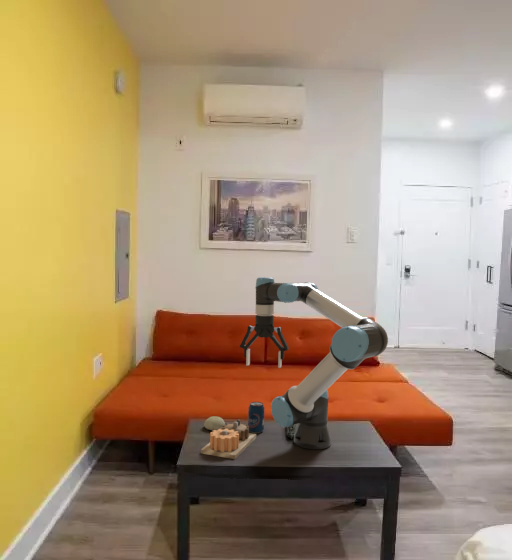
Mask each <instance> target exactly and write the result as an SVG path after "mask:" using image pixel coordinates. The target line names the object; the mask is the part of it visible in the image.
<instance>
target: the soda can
mask: <svg viewBox="0 0 512 560" xmlns="http://www.w3.org/2000/svg"><path fill="white" fill-rule="evenodd" d="M247 414H248V415H247V426H249V433H251V434H259V433H263V431H264V428H265V406H264V403H263V402H260V401H251V402H250V403H249V406H248V413H247Z"/></svg>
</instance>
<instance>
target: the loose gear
mask: <svg viewBox="0 0 512 560" xmlns="http://www.w3.org/2000/svg"><path fill="white" fill-rule="evenodd" d="M222 431H224V430H222V429H218V430H217V431H216V430H213V431H211V432H210V433H209V443H210V448H211V449H213V448H214V450H215V451H217V450H221V452H224V451H228V452H229V451H231V450H236V449H237V448H238V447H239V434H238V432H237V431H234V430H233V429H232V430H228V429H225V431H227V435H222Z"/></svg>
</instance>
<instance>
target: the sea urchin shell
mask: <svg viewBox="0 0 512 560" xmlns="http://www.w3.org/2000/svg"><path fill="white" fill-rule="evenodd" d="M223 425H226V422H225V420H224V418H222V417H220V416H215V415H213V416H209V417H208V418H207V419H206V420H205V421H204V423H203V427H204V428H205V429H206V430H209V431H211V432H213V430H216V431H217V430H218V429H222V427H223Z"/></svg>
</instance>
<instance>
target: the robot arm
mask: <svg viewBox="0 0 512 560" xmlns="http://www.w3.org/2000/svg"><path fill="white" fill-rule="evenodd" d="M275 302H277V303H278V302H279V303H285V304H286V303H288V304H289V303H294V302H302V303H303V304H305V305H307V306H308V307H310V308H312V310H315V311H316V312H317V313H319V314H320V315H322V316H324V317H325V318H327V319H328V320H329V321H331V322H333V323H334V324H336V325H337V326H339V327H340V329H338V330H336V332H335V333H334V334H333V336H332V337H331V344H330V345H329V352H328V353H327V355H325V356H324V358H323V359H321V361H320V362H319V363H318V364H317V365H316V366H314V368H313V369H312V370H311V371H310V372H309V374H307V376H305V378H303V380H302V381H301V382H300V383H299V384H298V385H292V386H291V387H289V388H288V390H287V391H285V393H283V394H282V395H279V396H276V397H274V398H273V399H272V401H271V404H270V409H271V411H270V412H271V414H272V415H271V416H272V417H273V420H274V422H275V423H276V424H277V425H279V426H280V427H283V428H287V427H292V426H294V425H297V426H296V430H295V432H294V435H293V443H294V444H295V445H296V446H298V447H300V448H303V449H307V450H322V449H323V450H324V449H328V448H329V447H330V446H331V445H332V437H331V433H330V430H329V427H328V418H329V417H328V412H329V391H328V389H330V387H331V386H333V384H334V383H335V382H336V381H337V380H338V379H339V378H341V377H342V376H343V374H344V373H346V371H348V370H354V369H356V368H357V367H358V366H359V365H360V364H361V363H362V362H363V361H364V360H366V359H368V358H374V357H377V356H379V355H381V354H383V352H384V351H386V348H387V346H388V343H389V337H388V334H387V332H386V330H385V328H384V327H383V326H382V325H380V324H379V323H378V322H376V321H375V320H373V319H371V318H370V317H367V316H365V317H363V316H361V315H359V314H358V313H356V312H355V311H353V310H352V309H349V308H348V307H347V306H345V305H343V304H342V303H340V302H338V301H337V300H335V299H333V298H332V297H330V296H328V295H327V294H325V293H323V292H322V291H320V290H319V288H318V286H317V285H316V284H315V283H313V282H308V281H307V282H275V278H273V277H265V276H264V277H257V278H256V281H255V317H254V318H255V320H254V321H255V325H254V326H252V325H248V326H247V329H246V330H247V331H246V333H245V335H244V336H243V339H242V340H241V343H240V345H239V348H240V349H243V354H244V355H243V356H244V358H246V359H245V360H246V361H245V363H246V364H245V366H246V367H247V366H250V364H251V348H250V347H251V345H252V344H253V343H254V342H255V341H256V340H257V339H258V338H264V339H265V338H267V339H268V338H270V340H271V341H272V342H273V344H274V345H275V346H276V347H277V348H278V350H279V351H278V356H277V357H278V360H277V361H278V362H277V363H278V364H277V367H278V369H281V368H282V364H283V363H282V361H283V360H284V359H285V351H288V350H289V349H290V347H289V345H288V343H287V340H286V338H285V337H284V334H283V333H282V327H281V326H278V327H275V325H274V323H275V319H274V313H275V312H274V310H275V309H274V307H275ZM253 331H254V332H255V334H254V335H253V336H252V338H251V339H250V340H249V341H248V339H249V338H250V336H251V334H252V332H253ZM274 332H275V333H277V336H278V338H279V340H280V341H279V340H278V339H277V338H276V336H275V334H274ZM247 341H248V342H247ZM280 342H281V343H280Z"/></svg>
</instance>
